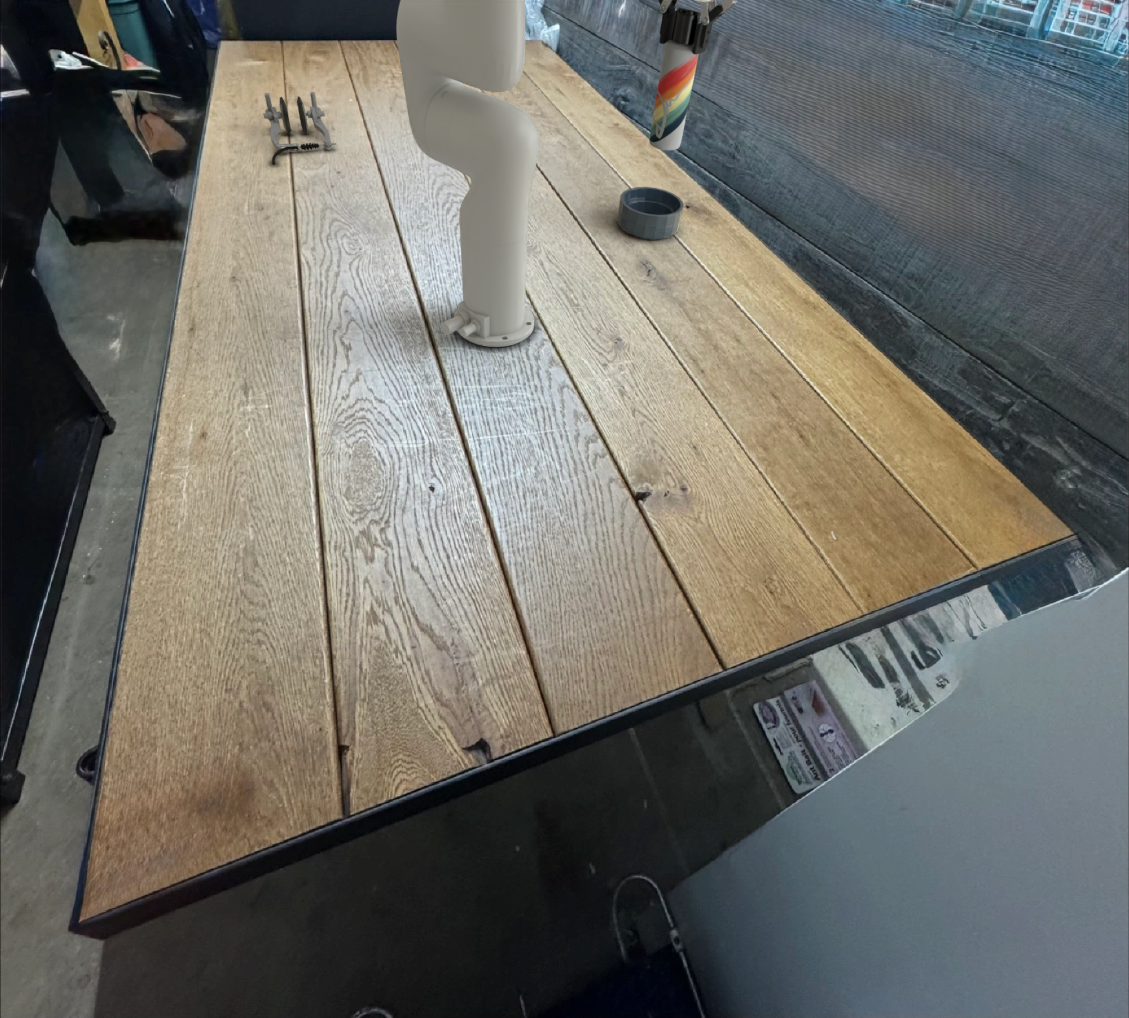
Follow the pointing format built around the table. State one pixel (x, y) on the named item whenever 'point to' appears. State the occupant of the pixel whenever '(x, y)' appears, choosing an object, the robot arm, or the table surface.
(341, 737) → the table surface
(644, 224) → the bowl
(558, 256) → the table surface
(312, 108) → the bike brake
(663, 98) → the lotion bottle
